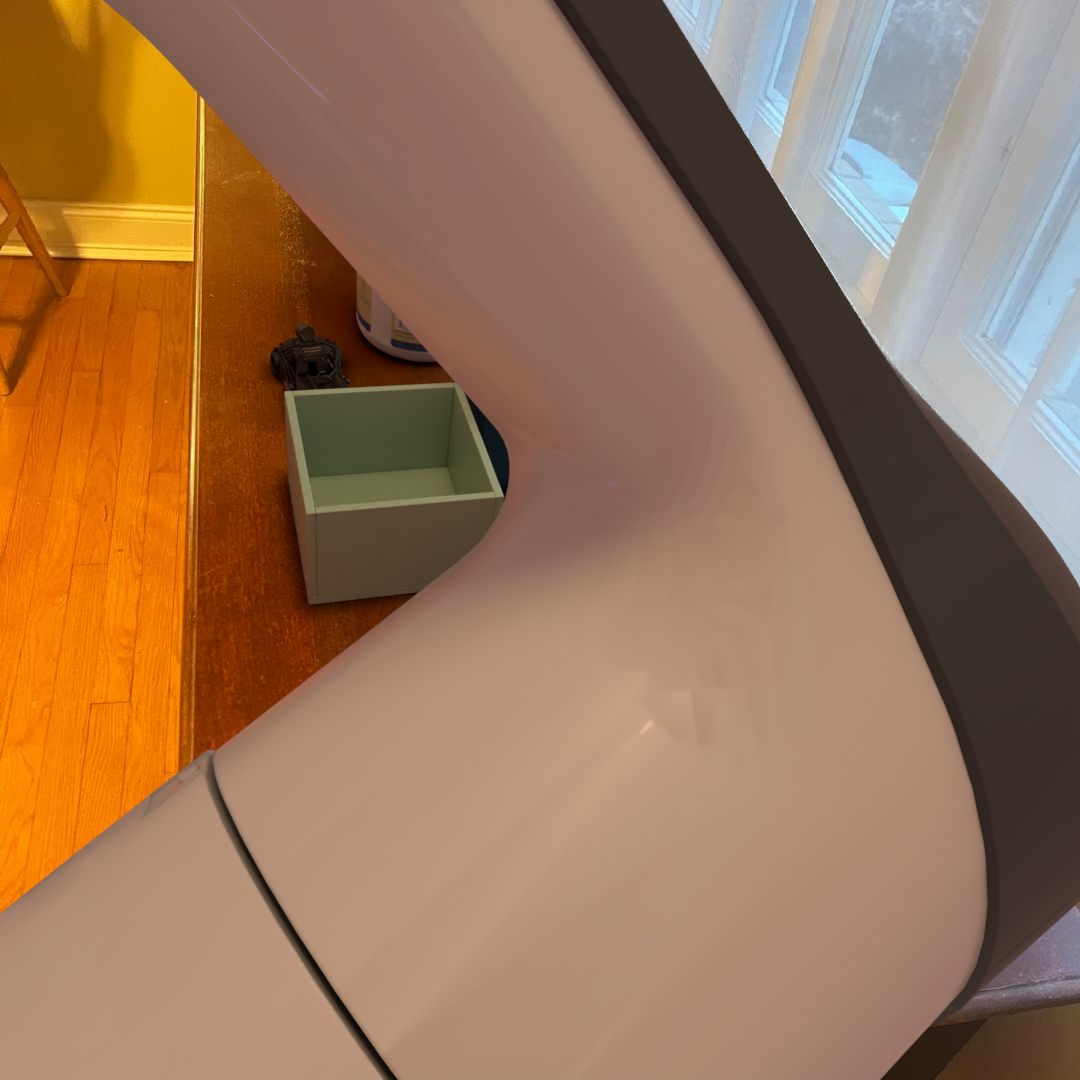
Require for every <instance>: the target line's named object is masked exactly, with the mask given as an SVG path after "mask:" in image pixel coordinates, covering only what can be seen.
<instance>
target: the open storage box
mask: <svg viewBox="0 0 1080 1080" xmlns="http://www.w3.org/2000/svg"><path fill="white" fill-rule="evenodd" d="M283 397H284V417H285V419H284V420H285V421H284V422H285V440H286V442H285V443H286V457H287V458H286V462H287V464H286V465H287V479H288V480H287V482H288V488H289V495H290V499H291V507H292V512H293V518H294V524H295V531H296V537H297V542H298V548H299V555H300V560H301V567H302V571H303V579H304V585H305V590H306V596H307V602H308V605H309V606H311V605H320V604H329V603H338V602H346V601H355V600H364V599H373V598H381V597H390V596H391V597H392V596H398V595H399V596H400V595H408V594H417V593H418V592H420V591H421V590H422V589H424V588H425V587H426V586H427V585H429V584H430V583H431V582H433V581H434V580H435V579H436V578H438V577H439V576H440V575H442V574H443V573H444V572H445V571H447V570H448V569H449V568H451V567H452V566H453V565H454V564H455V563H457V562H458V561H459V560H460V559H461V558H463V557H464V556H465V555H466V554H468V553H469V552H470V551H471V550H472V549H473V548H474V547H475V546H476V545H477V544H478V543H479V542H480V541H481V540H482V539H483V537H484V536H485V534H486V533H487V531H488V530H489V529H490V527H491V526H492V524H493V523H494V521H495V520H496V518H497V516H498V514H499V511H500V509H501V507H502V504H503V502H504V500H505V494H504V493H503V491H502V490H501V488H500V485H499V482H498V480H497V477H496V474H495V472H494V469H493V467H492V464H491V461H490V459H489V456H488V453H487V451H486V448H485V446H484V443H483V440H482V438H481V435H480V432H479V430H478V427H477V425H476V422H475V419H474V417H473V414H472V411H471V409H470V406H469V404H468V401H467V398H466V396H465V393H464V391H463V390H462V389H461V388H460V387H459V386H458V384H457V383H456V382H455V381H454V382H439V383H422V384H421V383H418V384H417V383H416V384H403V385H402V384H397V385H396V384H395V385H383V386H382V385H381V386H361V387H349V388H339V389H320V390H300V391H293V392H292V391H285V390H284V392H283Z"/></svg>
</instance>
